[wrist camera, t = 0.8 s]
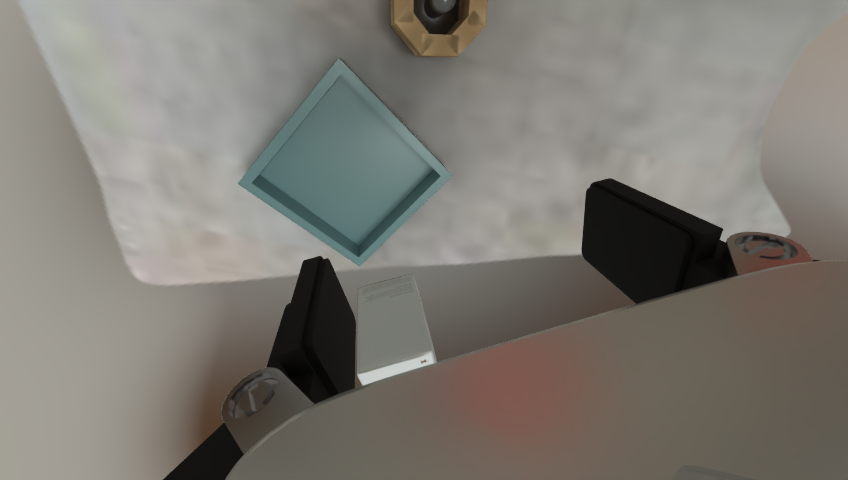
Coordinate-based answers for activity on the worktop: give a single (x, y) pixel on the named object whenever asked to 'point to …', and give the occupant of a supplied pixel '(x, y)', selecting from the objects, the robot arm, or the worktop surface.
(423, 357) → the supplement box
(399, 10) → the ring
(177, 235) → the worktop surface
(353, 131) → the tray
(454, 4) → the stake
